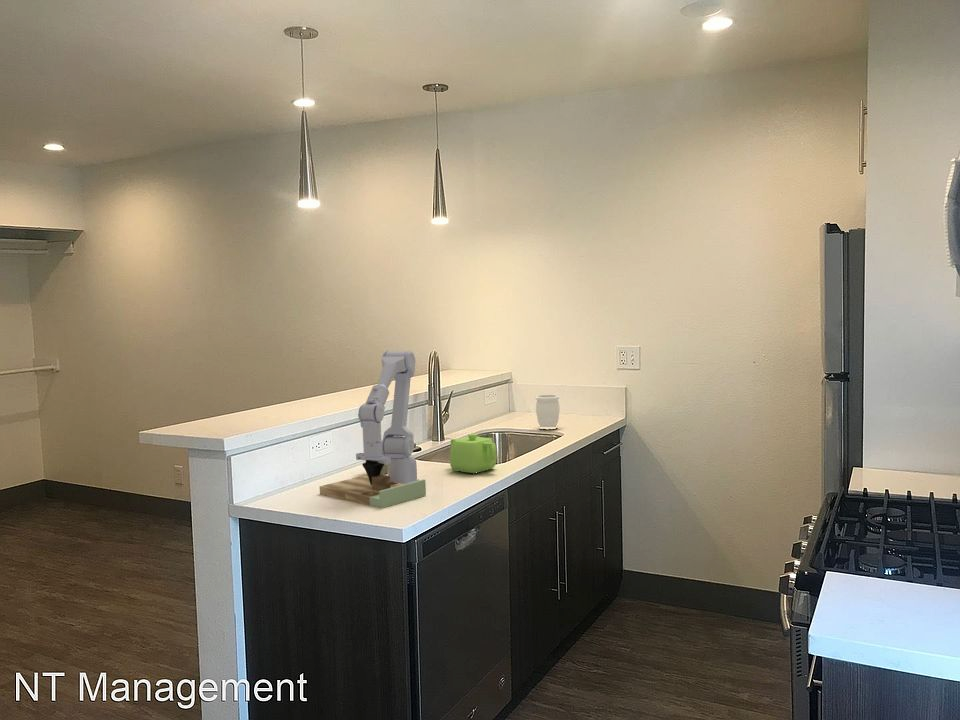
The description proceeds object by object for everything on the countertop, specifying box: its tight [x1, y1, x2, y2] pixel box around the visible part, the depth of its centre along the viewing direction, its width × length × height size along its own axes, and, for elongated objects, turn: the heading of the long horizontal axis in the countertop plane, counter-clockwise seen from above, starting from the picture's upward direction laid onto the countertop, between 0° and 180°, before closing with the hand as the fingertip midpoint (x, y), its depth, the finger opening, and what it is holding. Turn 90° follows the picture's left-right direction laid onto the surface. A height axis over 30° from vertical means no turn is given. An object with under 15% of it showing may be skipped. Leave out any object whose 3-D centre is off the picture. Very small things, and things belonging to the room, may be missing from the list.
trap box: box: [319, 475, 427, 509], centre depth 255 cm, size 18×30×5 cm, turn 48°
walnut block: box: [372, 474, 390, 491], centre depth 252 cm, size 4×4×4 cm
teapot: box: [449, 433, 498, 474], centre depth 287 cm, size 18×20×13 cm
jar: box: [535, 394, 560, 427], centre depth 367 cm, size 11×10×15 cm
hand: (374, 484), depth 254 cm, fingers closed
